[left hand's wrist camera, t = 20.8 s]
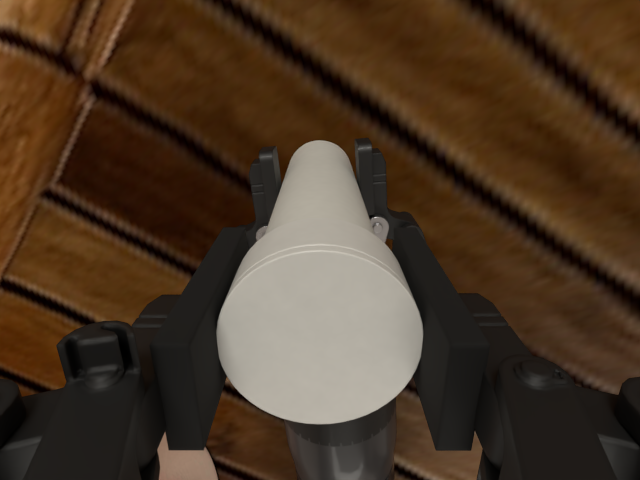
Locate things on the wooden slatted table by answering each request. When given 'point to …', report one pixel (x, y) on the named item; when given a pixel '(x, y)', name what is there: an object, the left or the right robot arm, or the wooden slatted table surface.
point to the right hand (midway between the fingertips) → (314, 146)
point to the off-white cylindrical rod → (319, 188)
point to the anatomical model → (185, 464)
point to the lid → (319, 323)
